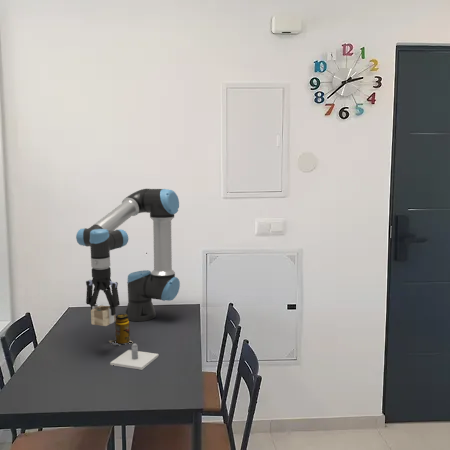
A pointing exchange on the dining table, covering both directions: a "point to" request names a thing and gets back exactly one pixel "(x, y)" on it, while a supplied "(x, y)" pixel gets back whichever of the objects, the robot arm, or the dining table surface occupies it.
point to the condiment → (122, 329)
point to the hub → (134, 358)
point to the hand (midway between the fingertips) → (103, 321)
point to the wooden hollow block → (100, 315)
